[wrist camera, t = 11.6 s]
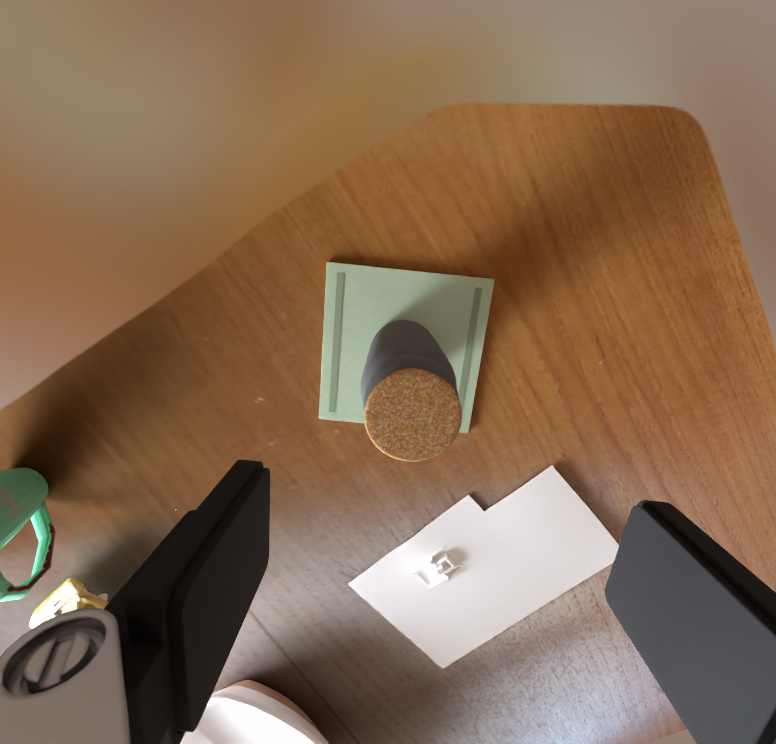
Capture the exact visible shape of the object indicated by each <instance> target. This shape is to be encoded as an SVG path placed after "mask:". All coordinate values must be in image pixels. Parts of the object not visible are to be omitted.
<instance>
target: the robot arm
mask: <svg viewBox="0 0 776 744" xmlns="http://www.w3.org/2000/svg"><path fill="white" fill-rule="evenodd" d="M269 518H270V470H269V468H264V467H263V463H262V462H259V461H249V460H238V461H237V462H236V463H235V464H234V465H233V466H232V468H231V469H230V470H229V471H228V472H227V474H226V475H225V476H224V477H223V478H222V479H221V481H220V482H219V483H218V484H217V485H216V487H215V488H214V489H213V490H212V491H211V493H210V494H209V495H208V496H207V497H206V499H205V500H204V501H203V502H202V503H201V505H200V506H199V507H198V508H197V509H196V510H192V511H189V512H188V513H187V514H186V515H184V516H183V518H182V519H181V520H180V521H179V522H178V523H177V525H176V526H175V527H174V528H173V529H172V530H171V532H170V533H169V534H168V535H167V536H166V537H165V538H164V540H163V541H162V542H161V543H160V544H159V545H158V547H157V548H156V549H155V550H154V551H153V552H152V553H151V555H150V556H149V557H148V558H147V559H146V560H145V562H144V563H143V564H142V565H141V566H140V567H139V569H138V570H137V571H136V572H135V573H134V574H133V575H132V577H131V578H130V579H129V580H128V581H127V582H126V584H125V585H124V586H123V587H122V588H121V589H120V590H119V592H118V593H117V594H116V595H115V596H114V597H113V599H112V600H111V601H110V602H109V603H108V604H107V606H106V607H105V608H104V609H99V608H83V609H76V610H73V611H69V612H66V613H63V614H59V615H57V616H55V617H53V618H51V619H49V620H47V621H45V622H42V623H40V624H39V625H37V626H36V627H34V628H33V629H31V630H30V631H28V632H27V633H25V634H24V635H22V636H21V637H20V638H19V639H18V640H16V641H15V642H14V643H13V644H12V645H11V646H10V647H9V648H7V649H6V650H5V651H4V653H3V654H2V655H1V657H0V744H180V743H181V741H182V739H183V736H184V734H185V732H193V731H194V730H195V729H196V728H197V726H198V724H199V722H200V720H201V718H202V715H203V713H204V711H205V708H206V706H207V704H208V702H209V699H210V697H211V695H212V692H213V690H214V688H215V685H216V683H217V681H218V679H219V676H220V674H221V672H222V669H223V667H224V665H225V662H226V660H227V658H228V656H229V653H230V651H231V649H232V646H233V644H234V642H235V640H236V637H237V635H238V633H239V630H240V628H241V626H242V623H243V621H244V619H245V617H246V614H247V612H248V610H249V607H250V605H251V603H252V600H253V598H254V596H255V594H256V591H257V589H258V587H259V584H260V582H261V580H262V578H263V575H264V573H265V570H266V568H267V564H268V559H269ZM605 596H606V600H607V603H608V604H609V606H610V608H611V609H612V611H613V613H614V614H615V616H616V617H617V619H618V620H619V622H620V624H621V625H622V627H623V628H624V630H625V631H626V633H627V635H628V636H629V638H630V639H631V641H632V642H633V644H634V646H635V647H636V649H637V650H638V652H639V653H640V655H641V657H642V658H643V660H644V661H645V663H646V664H647V666H648V668H649V669H650V671H651V672H652V674H653V675H654V677H655V679H656V680H657V682H658V683H659V685H660V687H661V688H662V690H663V691H664V693H665V694H666V696H667V698H668V699H669V701H670V702H671V704H672V705H673V707H674V709H675V710H676V712H677V713H678V715H679V716H680V718H681V720H682V721H683V723H684V724H685V726H686V727H687V729H688V730H689V732H690V734H691V735H692V737H693V738H694V740H695V741H696V743H697V744H776V593H775V592H774V591H773V590H772V589H771V588H769V587H768V586H767V585H766V584H765V583H764V582H762V581H761V580H760V579H759V578H758V577H756V576H755V575H754V574H753V573H752V572H751V571H749V570H748V569H747V568H746V567H745V566H743V565H742V564H741V563H740V562H739V561H738V560H736V559H735V558H734V557H733V556H732V555H731V554H729V553H728V552H727V551H726V550H725V549H723V548H722V547H721V546H720V545H719V544H718V543H716V542H715V541H714V540H713V539H712V538H711V537H709V536H708V535H707V534H706V533H705V532H703V531H702V530H701V529H700V528H699V527H698V526H696V525H695V524H694V523H693V522H692V521H690V520H689V519H688V518H687V517H686V516H685V515H683V514H682V513H681V512H680V511H679V510H678V509H676V508H675V507H674V506H673V505H671V504H670V503H666V502H657V501H647V500H643V501H640V502H639V503H638V505H636V506H634V507H633V508H632V510H631V512H630V515H629V518H628V521H627V524H626V527H625V530H624V533H623V536H622V539H621V542H620V545H619V548H618V551H617V554H616V557H615V560H614V563H613V566H612V569H611V572H610V575H609V578H608V581H607V584H606V588H605Z"/></svg>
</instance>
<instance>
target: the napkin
mask: <svg viewBox="0 0 776 744" xmlns="http://www.w3.org/2000/svg"><path fill="white" fill-rule="evenodd" d="M493 286H494V279H488V278H478V277H468V276H459V275H449V274H439V273H430V272H420V271H410V270H401V269H391V268H381V267H372V266H362V265H352V264H343V263H333V262H327V271H326V290H325V309H324V328H323V347H322V366H321V385H320V404H319V419H326V420H337V421H347V422H358V423H365V421H364V410H363V400H362V396H361V379H362V374H363V369H364V366H365V362H366V359H367V356H368V352H369V349H370V346H371V343H372V340H373V338H374V337H375V335H376V333H377V332H378V331H379V330H380V329H381V328H382V327H383V326H385V325H387V324H388V323H391V322H393V321H398V320H409V321H413V322H416V323H418V324H420V325H422V326H423V327H425V328H426V329H427V330H428V331H429V332H430V334H431V335H432V336H433V338H434V339H435V340H436V342H437V343H438V345H439V346H440V348H441V349H442V351H443V352H444V354H445V355H446V357H447V359H448V360H449V362H450V364H451V366H452V368H453V370H454V373H455V376H456V384H457V391H458V395H459V400H460V403H461V408H462V422H461V427H460V430H459V432H462V433H468V431H469V426H470V420H471V414H472V408H473V402H474V396H475V391H476V385H477V379H478V373H479V367H480V361H481V356H482V350H483V344H484V338H485V332H486V326H487V321H488V315H489V309H490V303H491V297H492V292H493Z"/></svg>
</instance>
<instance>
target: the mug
mask: <svg viewBox="0 0 776 744" xmlns="http://www.w3.org/2000/svg"><path fill="white" fill-rule="evenodd" d="M48 492H49V491H48V484H47V482H46V480H45V479H44V477H43V476H42V475H41V474H39V473H38V472H37V471H35V470H32V469H30V468H15V469H9V470H3V471H0V549H1V548H2V547H3V546H4V545H5V544H6V543H7V542H8V541H10V540H11V539H12V538H13V537H14V536H15V535H16V534H17V533H18V532H19V531H20V530H21V529H22V528H23V526H24V525H25V524H26V523H27V522H28V520H29V519H30V518H31V520H32V523H33V526H34V529H35V532H36V534H37V537H38V540H39V545H38V549H37V554H36V558H35V563H34V567H33V572H32V576H31V577H30V578H29V579H27V580H26V581H25V582H24V583H23V584H22V585H20V586H14V585H13V584H11V583H10V582H9V581H7V580H6V579H5V578H4V577H3V575H2V573H1V571H0V602H2V601H8V600H16V599H21V598H23V597H24V596H25V595H26V594H27V593H28V592H29V591H30V590H31V589H32V588H33V587H34V586H35V584H36V583H37V582H38V581H39V580H40V579H41V578H42V577H43V576H44V574H45V573H46V572H47V571H48V570H49V569H50V567H51V562H52V555H53V548H54V540H55V533H56V531H55V529H54V526H53V523H52V520H51V517H50V515H49V512H48V509H47V506H46V503H45V501H44V499H45V498H46V497H47V494H48Z"/></svg>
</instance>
